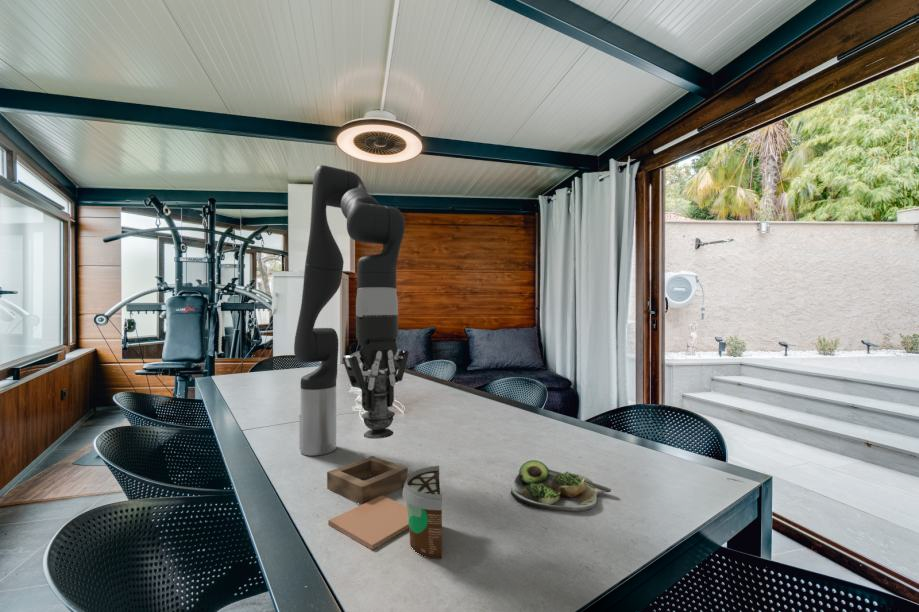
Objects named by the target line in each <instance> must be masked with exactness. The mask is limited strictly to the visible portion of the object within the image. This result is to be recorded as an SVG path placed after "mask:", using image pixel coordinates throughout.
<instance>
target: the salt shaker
mask: <svg viewBox="0 0 919 612" xmlns="http://www.w3.org/2000/svg"><path fill="white" fill-rule="evenodd" d="M372 390H374V394H375V410H374V411H371V412H369V411H366V412H364V413H363V414H362V415H361V417H362V418H363V423H364V426H365V427H367V428H368V429H369V430H367V431H366V432H364V433H363V437H364V438H366V439H374V440H379V439H385V438H389V437H391V436H393V435H394V431H393V430H391V429H390V428H389V427H390V426H391V425H392V424H393V421H394V416H395V415H396V413H395V412H394V411H393V410H390V409H389V407H387V394H388V392H387V391H386V376H385V374H383V373H381V372H379V370H378V375H377V377H375V382H374V388H373V389H372Z"/></svg>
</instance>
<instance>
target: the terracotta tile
mask: <svg viewBox="0 0 919 612" xmlns="http://www.w3.org/2000/svg"><path fill="white" fill-rule="evenodd" d="M328 525H329V526H330V527H332V528H333V529H335V530H336V531H338V532H340V533H342V534H343V535H345V536H346V537H349V538H350V539H352V540H354V541H356V542H357V543H360V544H361V545H362V544H363V546H364V547H366V546H367V547H368V549H369V548H370V549H369V550H371V549H373V550H375V549H376V547H377V548H378V547H380V546H382V545H383V544H385V543H387V542H388V541H390V540H392V539H393V537H394V538H396V537H397V536H398V534H399V533H400V534H402V533H403V532H405V531H407V530H409V521H408V508H407V505H405V504H402V503H400V502H398V501H396V500H394V499H391V498H389V497H386V496H385V495H384V496H379V497H377V498H375V499H373V500H371V501H369V502H367V503H364V504H362V505H360V504H359V505H358V506H356V507H354V508H351V509H349V510H348V511H345V512H343V513H341V514H339V515H337V516H335V517H333V518H330V519H328ZM400 534H399V535H400ZM396 535H397V536H396ZM391 538H392V539H391ZM389 539H390V540H389ZM386 541H387V542H386ZM384 542H385V543H384ZM382 543H383V544H382ZM381 544H382V545H381ZM367 547H366V548H367ZM374 548H375V549H374Z"/></svg>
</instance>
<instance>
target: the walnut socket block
mask: <svg viewBox="0 0 919 612" xmlns="http://www.w3.org/2000/svg"><path fill="white" fill-rule="evenodd" d="M408 471H409V469H408V467H407V466H406V467H405V466H402V465H400V464H397V463H394V462H391V461H388V460H386V459H383V458H379V457H377V456H374V455H371V456H368V457H365V458H363V459H360V460H356V461H354V462H352V463H349V464H345V465H343V466H341V467H338V468H334V469H331V470H328V471H326V489H328V490H330V491H332V492H334V493H335V494H337V495H340V496H341V495H342V496H341V497H344V498H345V499H348V500H350V501H352V502H354V503H356V504H358V503H359V504H358V505H359V506H360V505H362V504H364V503H367V502H369V501H371V500H373V499H375V498H377V497H379V496H385V495H389V494H390V493H392V492H394V490H395V491H397V490H399V489H401V488H404V484H405V481H406V479H407V477H408V476H409V475H408V474H409V472H408ZM373 476H374V477H373ZM366 477H367V478H368V477H371V478H368V479H366ZM363 478H364V479H366V480H364V479H363ZM361 479H362V480H361Z"/></svg>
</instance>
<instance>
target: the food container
mask: <svg viewBox="0 0 919 612" xmlns="http://www.w3.org/2000/svg"><path fill="white" fill-rule="evenodd" d="M440 485H441V483H440V465H432V466H426V467H422V468H419V469H416V470H415V471H414V470H413V471H412V472H411V473H410V474H409V475H408V477H407V479H406V481H405V484H404V486H403V487H402V488H403V489H402V498H403V500H404V501H405V502H406V503H407V505H406V506H407V508H408V521H409V529H408V532H409V545H411V546H410V548H411V547H412V548H413V550H415V552H417V553H419V554H421V555H423V556H422V557H424V556H426V557H425V558H427V557H429V558H428V559H435V560H437V559H439V560H441V559H442V558H443V495H442V494H441V488H440V487H441V486H440ZM412 548H411V549H412ZM413 550H412V551H413ZM417 553H416V554H417ZM419 554H418V555H419ZM421 555H420V556H421Z"/></svg>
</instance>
